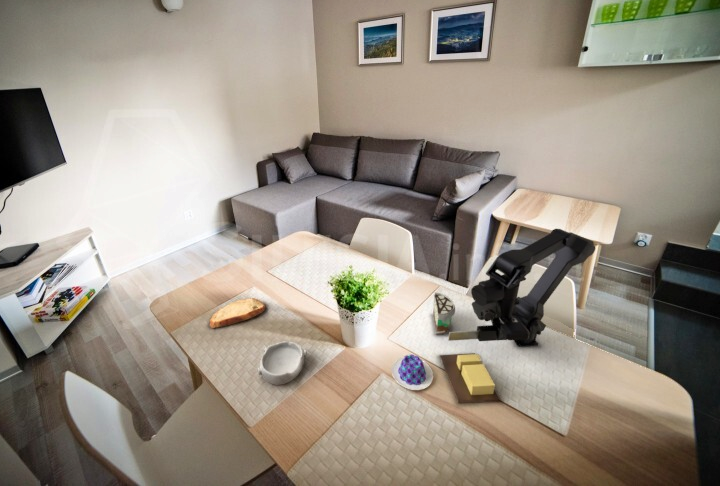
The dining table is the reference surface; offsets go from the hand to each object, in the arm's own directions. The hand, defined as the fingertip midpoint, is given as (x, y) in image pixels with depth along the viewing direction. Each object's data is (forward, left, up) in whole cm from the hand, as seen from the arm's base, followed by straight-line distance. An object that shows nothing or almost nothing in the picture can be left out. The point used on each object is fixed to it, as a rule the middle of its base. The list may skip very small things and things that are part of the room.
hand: (497, 334), depth 101 cm
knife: (+4, 0, -1) cm, 5 cm away
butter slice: (+11, +6, -6) cm, 14 cm away
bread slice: (+88, -24, -7) cm, 91 cm away
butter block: (+11, +12, -6) cm, 17 cm away
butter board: (+12, +9, -7) cm, 17 cm away
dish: (+68, +2, -7) cm, 68 cm away
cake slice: (+12, -12, -7) cm, 18 cm away
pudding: (+28, +7, -7) cm, 30 cm away
